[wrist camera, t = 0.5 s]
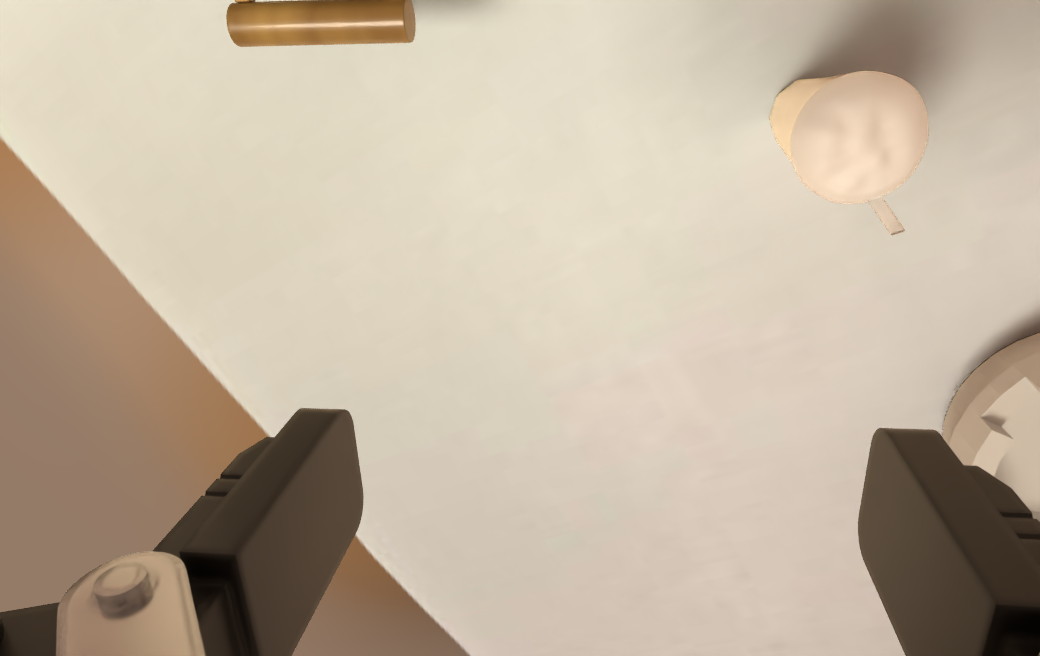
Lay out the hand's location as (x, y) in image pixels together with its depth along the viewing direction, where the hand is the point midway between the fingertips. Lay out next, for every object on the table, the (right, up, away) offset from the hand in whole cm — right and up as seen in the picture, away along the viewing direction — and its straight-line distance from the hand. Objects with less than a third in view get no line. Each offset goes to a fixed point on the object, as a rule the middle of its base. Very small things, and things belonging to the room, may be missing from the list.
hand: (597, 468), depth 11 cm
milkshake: (+12, +12, +22) cm, 28 cm away
